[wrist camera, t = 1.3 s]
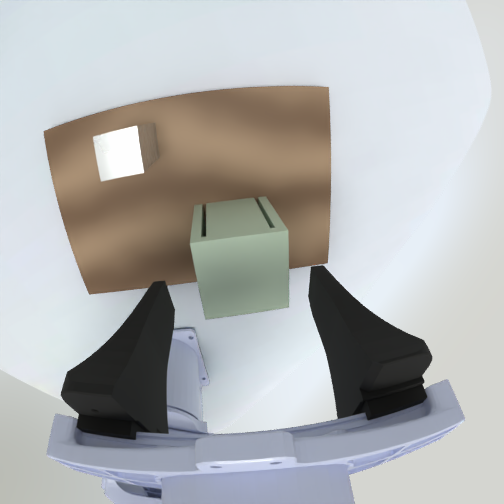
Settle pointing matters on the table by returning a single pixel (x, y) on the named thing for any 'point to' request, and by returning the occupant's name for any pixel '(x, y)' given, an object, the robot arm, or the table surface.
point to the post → (126, 151)
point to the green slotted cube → (240, 257)
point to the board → (193, 179)
